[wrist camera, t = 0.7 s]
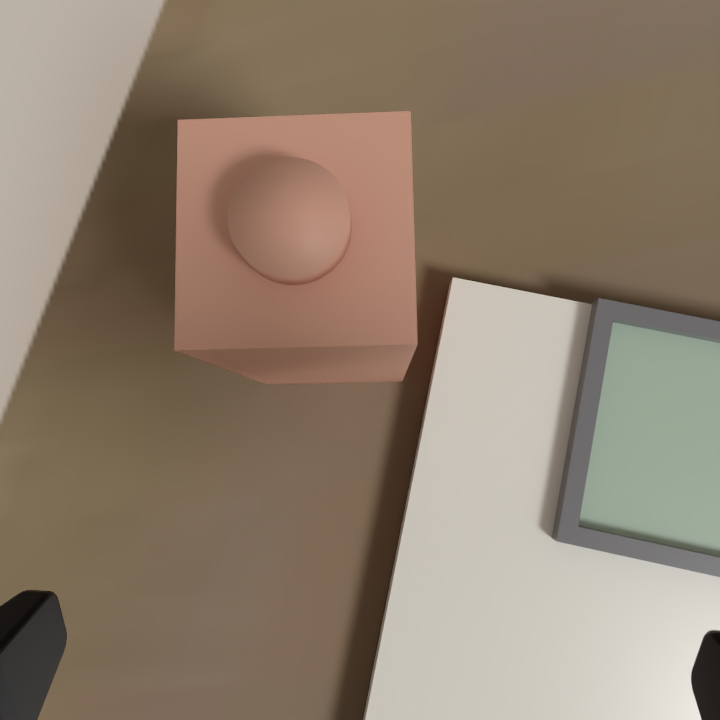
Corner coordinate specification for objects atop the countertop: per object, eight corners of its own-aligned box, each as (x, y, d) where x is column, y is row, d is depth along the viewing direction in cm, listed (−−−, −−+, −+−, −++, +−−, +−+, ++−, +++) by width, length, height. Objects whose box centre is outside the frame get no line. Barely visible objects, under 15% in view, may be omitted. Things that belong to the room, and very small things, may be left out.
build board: (756, 959, 20) (793, 1012, 18) (336, 852, 20) (332, 892, 19) (834, 358, 22) (875, 351, 20) (449, 282, 22) (455, 270, 21)
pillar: (402, 381, 22) (420, 338, 11) (267, 384, 22) (160, 344, 12) (398, 249, 23) (412, 89, 12) (266, 253, 23) (164, 99, 12)
